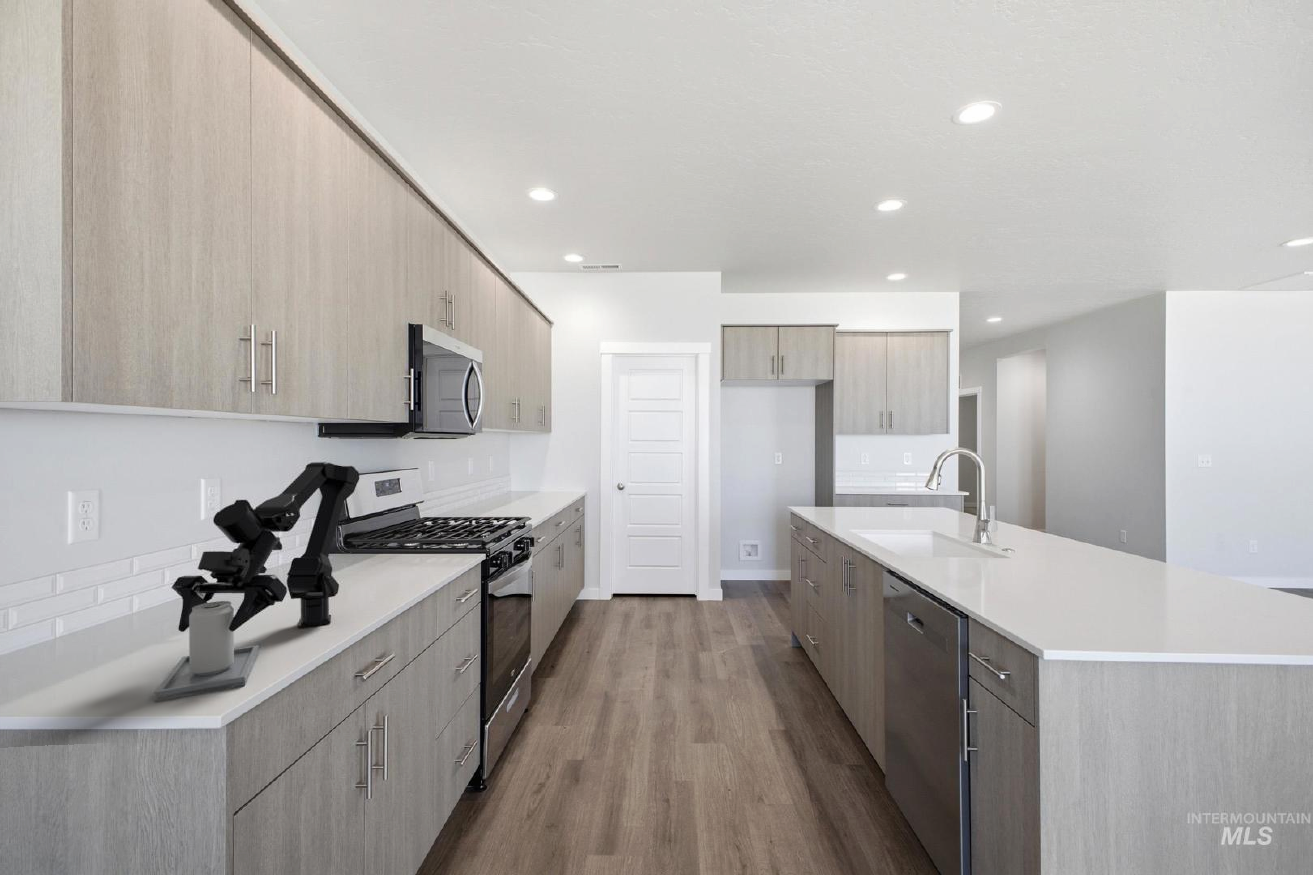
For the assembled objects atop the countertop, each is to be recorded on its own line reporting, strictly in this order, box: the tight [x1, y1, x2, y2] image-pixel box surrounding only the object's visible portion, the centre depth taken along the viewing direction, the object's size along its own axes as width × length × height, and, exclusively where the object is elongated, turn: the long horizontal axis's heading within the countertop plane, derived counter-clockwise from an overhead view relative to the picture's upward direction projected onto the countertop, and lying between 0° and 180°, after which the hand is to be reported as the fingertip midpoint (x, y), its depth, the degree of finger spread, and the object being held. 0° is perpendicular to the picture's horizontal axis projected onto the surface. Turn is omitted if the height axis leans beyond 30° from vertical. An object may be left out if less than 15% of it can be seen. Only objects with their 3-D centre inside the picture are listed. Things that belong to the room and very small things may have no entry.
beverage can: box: [188, 600, 235, 676], centre depth 103 cm, size 6×6×12 cm
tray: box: [154, 644, 260, 703], centre depth 103 cm, size 18×12×2 cm, turn 29°
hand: (205, 630), depth 102 cm, fingers open, 9 cm apart
